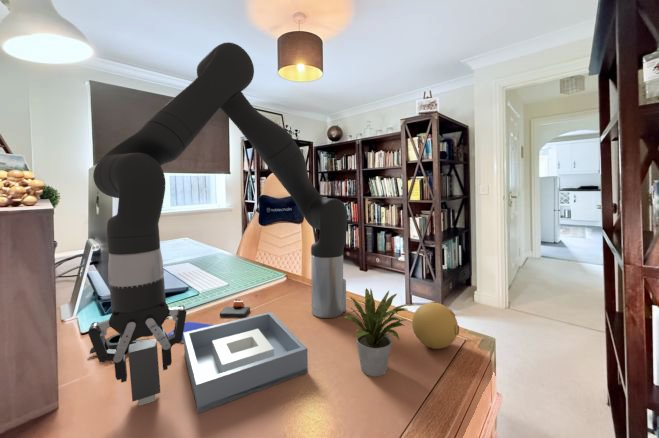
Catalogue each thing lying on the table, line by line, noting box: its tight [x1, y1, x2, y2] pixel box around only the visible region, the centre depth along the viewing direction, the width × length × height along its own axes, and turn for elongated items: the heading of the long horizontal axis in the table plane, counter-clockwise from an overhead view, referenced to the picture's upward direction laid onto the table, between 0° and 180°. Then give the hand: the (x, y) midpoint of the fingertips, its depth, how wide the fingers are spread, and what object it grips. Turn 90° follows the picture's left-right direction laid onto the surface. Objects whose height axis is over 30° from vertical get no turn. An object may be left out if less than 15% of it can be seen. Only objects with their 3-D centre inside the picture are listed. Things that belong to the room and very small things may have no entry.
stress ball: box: [411, 302, 460, 350], centre depth 67 cm, size 10×10×10 cm
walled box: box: [183, 311, 309, 414], centre depth 61 cm, size 20×20×5 cm
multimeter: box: [219, 294, 258, 318], centre depth 92 cm, size 18×12×3 cm, turn 173°
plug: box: [127, 337, 161, 407], centre depth 50 cm, size 4×3×10 cm
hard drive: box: [166, 321, 214, 344], centre depth 73 cm, size 2×8×12 cm
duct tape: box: [89, 333, 150, 355], centre depth 66 cm, size 8×10×3 cm
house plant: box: [344, 287, 414, 377], centre depth 57 cm, size 14×14×16 cm
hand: (145, 373), depth 50 cm, fingers open, 5 cm apart
